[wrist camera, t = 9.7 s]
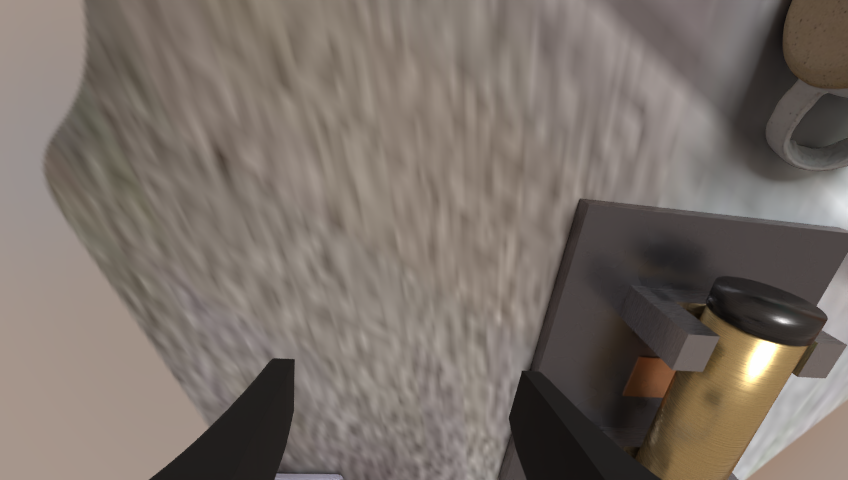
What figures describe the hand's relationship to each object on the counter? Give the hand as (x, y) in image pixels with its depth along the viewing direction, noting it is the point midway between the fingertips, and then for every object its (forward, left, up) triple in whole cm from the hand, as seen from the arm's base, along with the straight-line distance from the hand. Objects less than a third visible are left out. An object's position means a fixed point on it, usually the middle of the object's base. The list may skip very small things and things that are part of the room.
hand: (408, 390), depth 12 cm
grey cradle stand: (-6, -17, -9) cm, 20 cm away
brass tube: (-6, -17, -7) cm, 19 cm away
